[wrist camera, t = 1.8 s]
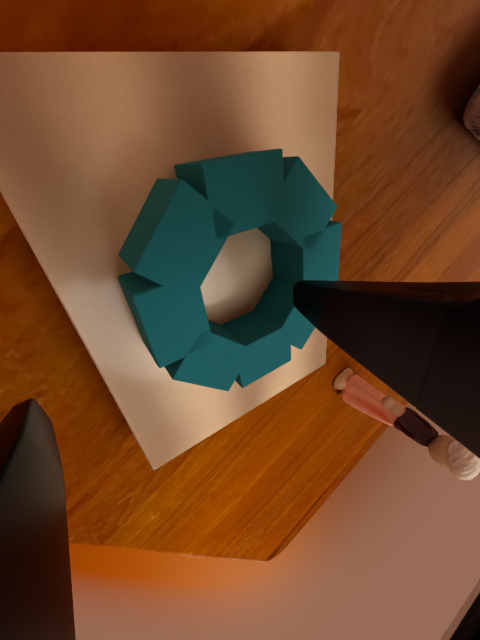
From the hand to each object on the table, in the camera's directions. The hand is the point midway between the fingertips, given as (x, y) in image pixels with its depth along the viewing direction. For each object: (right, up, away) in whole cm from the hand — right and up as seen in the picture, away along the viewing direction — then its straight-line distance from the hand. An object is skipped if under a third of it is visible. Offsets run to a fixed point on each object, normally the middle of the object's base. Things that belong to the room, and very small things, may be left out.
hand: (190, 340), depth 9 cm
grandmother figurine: (+14, -6, +22) cm, 27 cm away
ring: (+1, +3, +4) cm, 5 cm away
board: (0, +3, +7) cm, 8 cm away
